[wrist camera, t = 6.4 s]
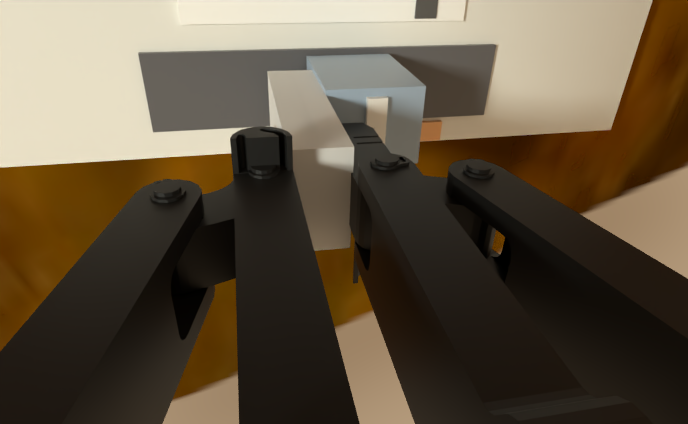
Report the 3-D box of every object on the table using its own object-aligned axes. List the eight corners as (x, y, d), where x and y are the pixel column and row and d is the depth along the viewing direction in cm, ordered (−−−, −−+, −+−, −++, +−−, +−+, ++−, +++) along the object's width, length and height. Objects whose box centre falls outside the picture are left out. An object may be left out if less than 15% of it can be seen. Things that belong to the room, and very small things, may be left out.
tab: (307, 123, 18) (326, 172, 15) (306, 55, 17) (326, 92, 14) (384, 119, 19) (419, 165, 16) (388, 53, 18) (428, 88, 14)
